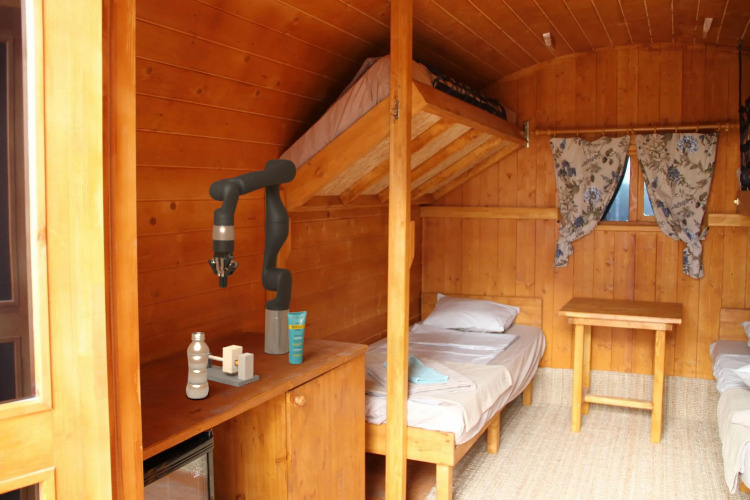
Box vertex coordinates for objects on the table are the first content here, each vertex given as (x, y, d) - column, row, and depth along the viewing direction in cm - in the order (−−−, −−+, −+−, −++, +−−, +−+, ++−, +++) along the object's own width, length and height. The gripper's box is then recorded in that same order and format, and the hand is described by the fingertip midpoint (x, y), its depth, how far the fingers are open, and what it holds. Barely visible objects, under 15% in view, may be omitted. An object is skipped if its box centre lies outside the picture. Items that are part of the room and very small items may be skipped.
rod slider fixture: (211, 368, 236) (212, 342, 235) (259, 380, 224) (259, 352, 223) (190, 375, 227) (190, 347, 226) (238, 387, 216) (238, 358, 215)
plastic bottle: (188, 394, 207) (188, 331, 205) (210, 394, 207) (211, 331, 205) (184, 401, 200) (184, 335, 198) (206, 401, 201) (207, 336, 199)
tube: (289, 365, 244) (290, 313, 242) (283, 362, 248) (285, 311, 246) (307, 363, 248) (309, 312, 246) (301, 360, 252) (303, 309, 250)
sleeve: (233, 368, 227) (233, 345, 226) (242, 370, 225) (242, 346, 224) (222, 371, 222) (223, 347, 222) (231, 373, 220) (231, 349, 220)
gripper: (245, 239, 233) (244, 288, 234) (217, 236, 239) (217, 284, 241) (230, 240, 226) (229, 290, 228) (202, 237, 233) (201, 286, 235)
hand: (223, 287), depth 234 cm, fingers closed
